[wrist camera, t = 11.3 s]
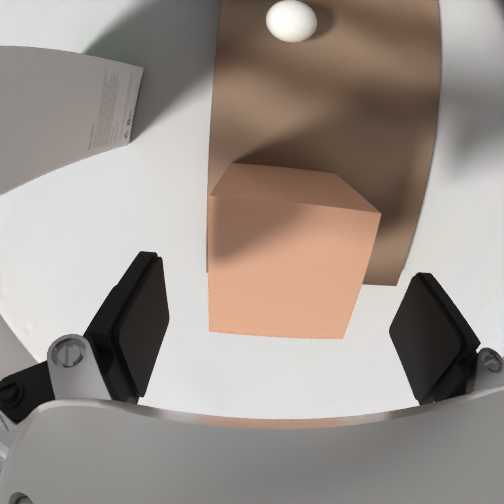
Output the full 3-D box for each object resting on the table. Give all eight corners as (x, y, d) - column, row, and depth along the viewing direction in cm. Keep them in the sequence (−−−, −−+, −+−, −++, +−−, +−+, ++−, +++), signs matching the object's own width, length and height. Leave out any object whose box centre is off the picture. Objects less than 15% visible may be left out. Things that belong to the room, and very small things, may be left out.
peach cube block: (230, 162, 18) (209, 195, 11) (335, 173, 18) (381, 213, 11) (226, 256, 21) (209, 331, 14) (318, 264, 21) (342, 338, 14)
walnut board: (237, -73, 9) (235, -82, 8) (423, -32, 9) (431, -37, 8) (209, 263, 23) (206, 272, 22) (390, 276, 23) (396, 285, 22)
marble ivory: (272, 41, 12) (312, 55, 13) (296, -2, 9) (335, 18, 11) (250, 27, 13) (287, 39, 14) (269, -11, 10) (307, 5, 12)
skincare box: (147, 68, 16) (-34, 34, 2) (130, 151, 19) (-44, 237, 5) (64, 68, 15) (-92, 78, 1) (52, 141, 18) (-96, 203, 4)
